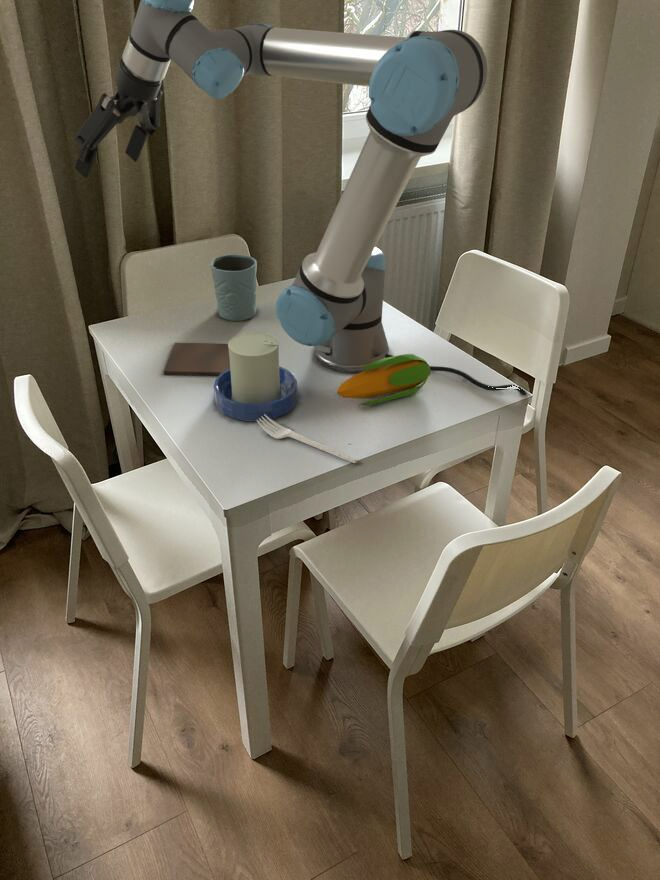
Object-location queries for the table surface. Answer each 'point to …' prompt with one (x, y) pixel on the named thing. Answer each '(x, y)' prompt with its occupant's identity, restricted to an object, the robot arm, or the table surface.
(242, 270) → the blue cup
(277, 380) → the can
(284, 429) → the fork
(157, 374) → the table surface
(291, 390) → the bowl
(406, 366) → the corn
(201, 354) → the board
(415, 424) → the table surface
